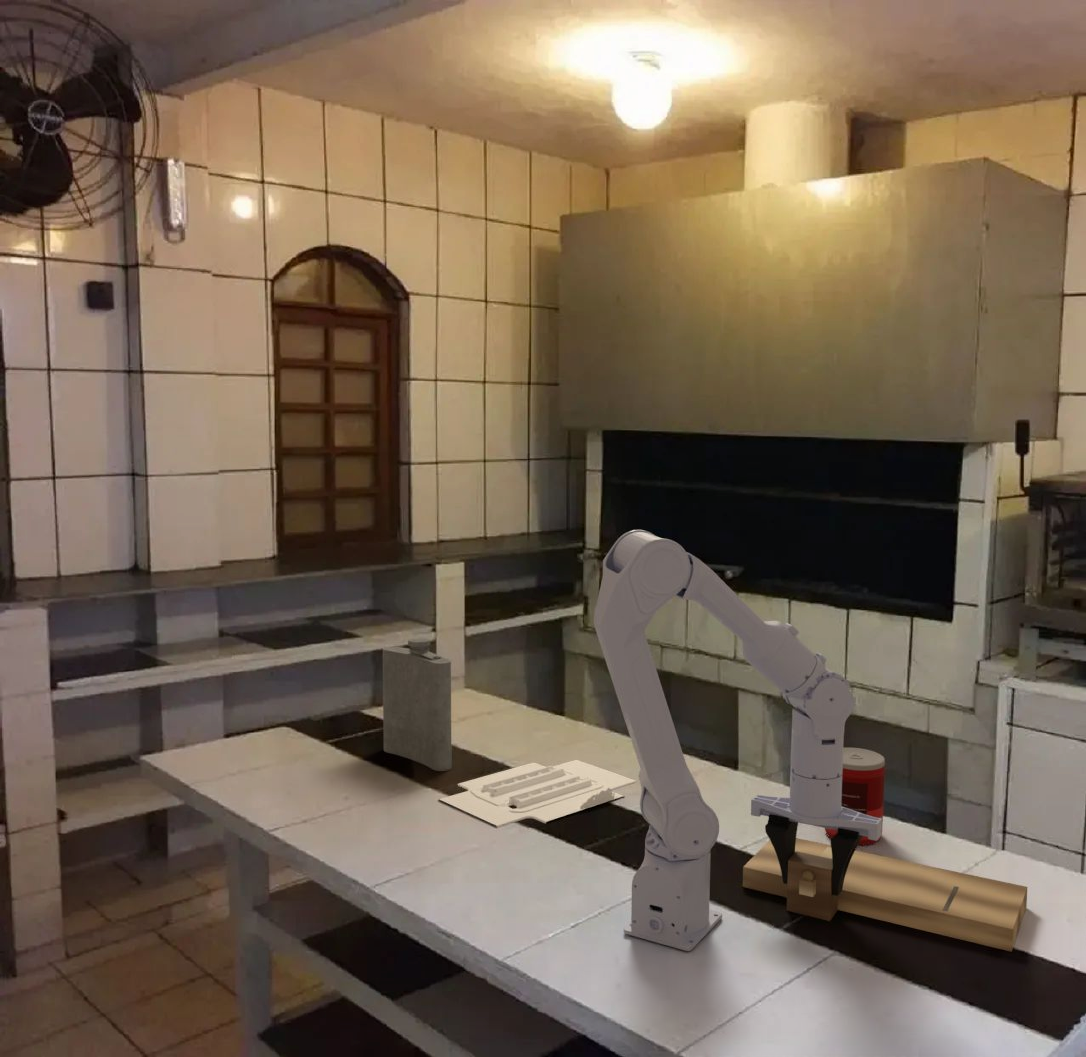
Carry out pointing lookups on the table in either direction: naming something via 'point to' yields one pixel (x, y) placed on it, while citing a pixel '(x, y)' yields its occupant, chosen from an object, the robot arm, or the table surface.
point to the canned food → (862, 785)
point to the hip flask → (417, 704)
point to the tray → (537, 792)
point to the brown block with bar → (811, 885)
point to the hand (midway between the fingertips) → (812, 886)
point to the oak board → (911, 895)
